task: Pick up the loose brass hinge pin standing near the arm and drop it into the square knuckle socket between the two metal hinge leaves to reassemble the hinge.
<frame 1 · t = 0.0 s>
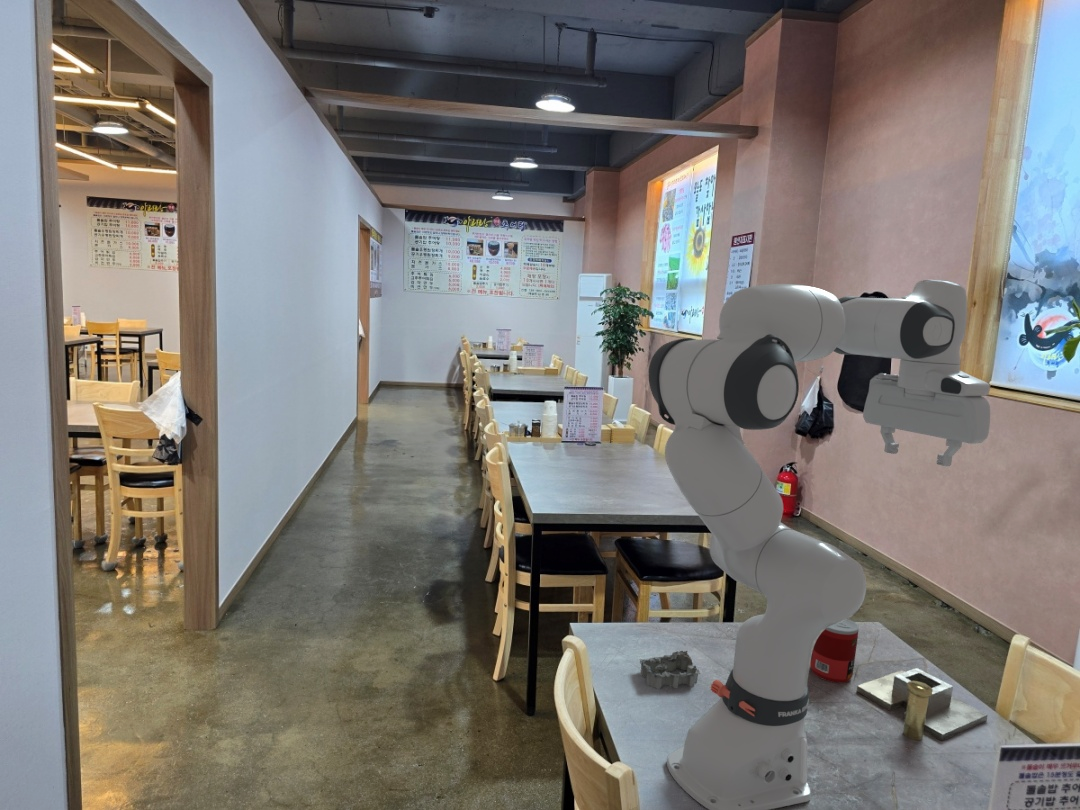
hand: (916, 458, 117), 48 cm above the table, fingers open, 8 cm apart
canned food: (830, 674, 139), on the table
hinge leaves: (919, 705, 129), on the table
egg carton: (668, 680, 133), on the table
hinge pin: (912, 734, 119), on the table
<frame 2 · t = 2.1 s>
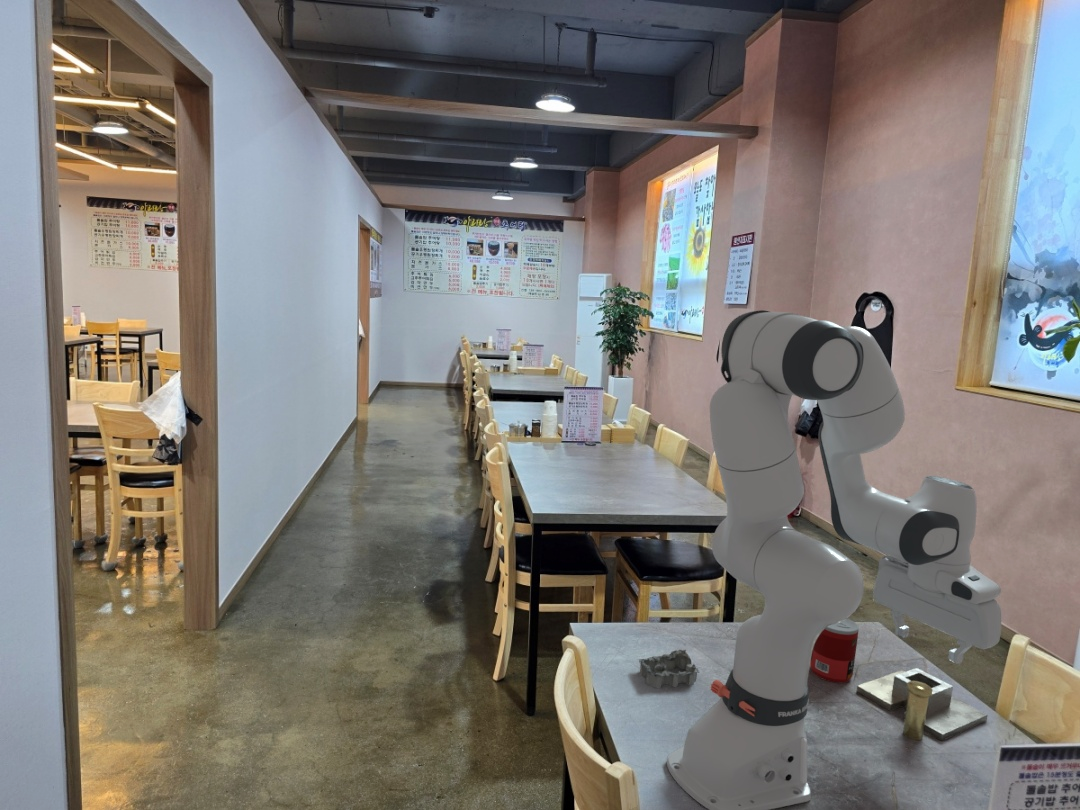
hand: (927, 648, 117), 16 cm above the table, fingers open, 8 cm apart
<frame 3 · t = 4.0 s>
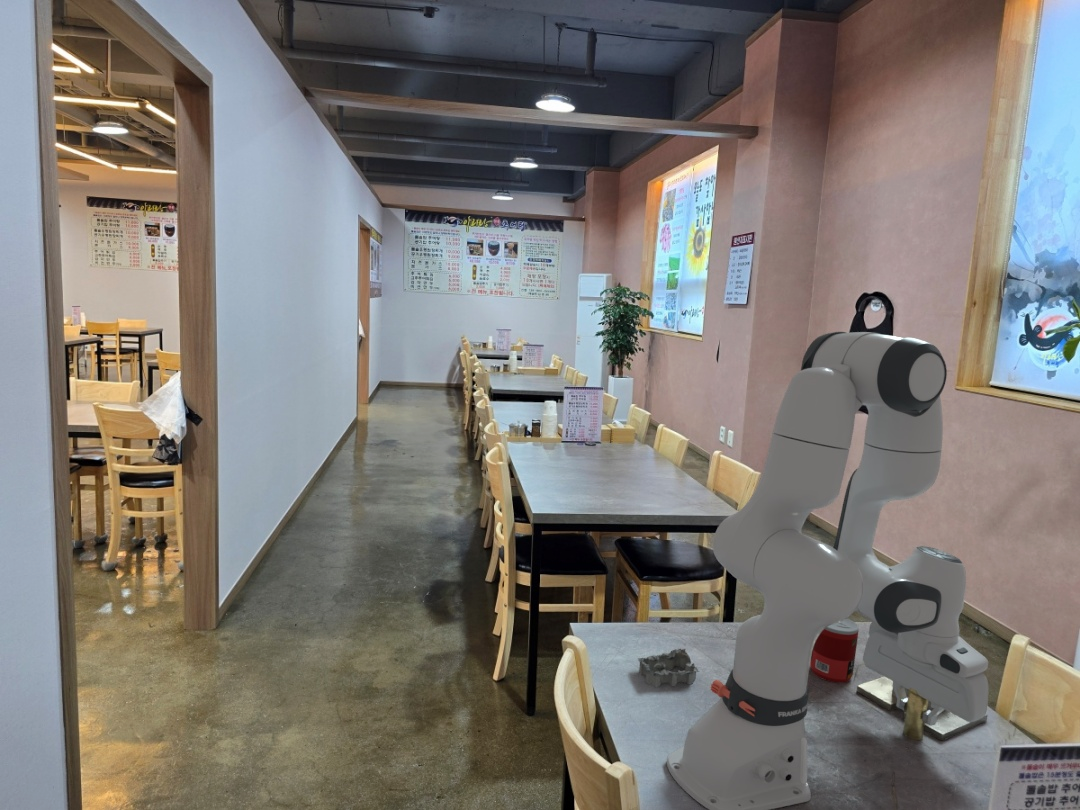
hand: (915, 715, 119), 4 cm above the table, fingers closed on hinge pin, 3 cm apart
hinge pin: (912, 734, 119), on the table, touching gripper
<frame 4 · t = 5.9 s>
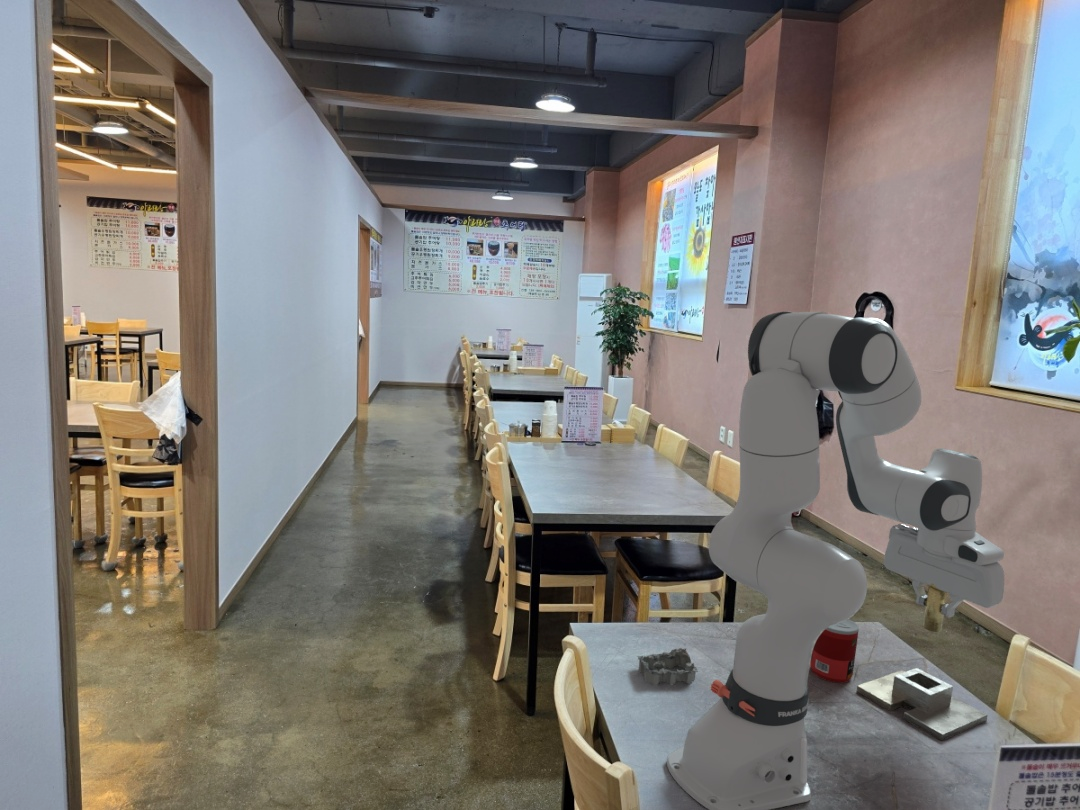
hand: (934, 610, 126), 19 cm above the table, fingers closed on hinge pin, 3 cm apart
hinge pin: (932, 628, 126), point 15 cm above the table, touching gripper
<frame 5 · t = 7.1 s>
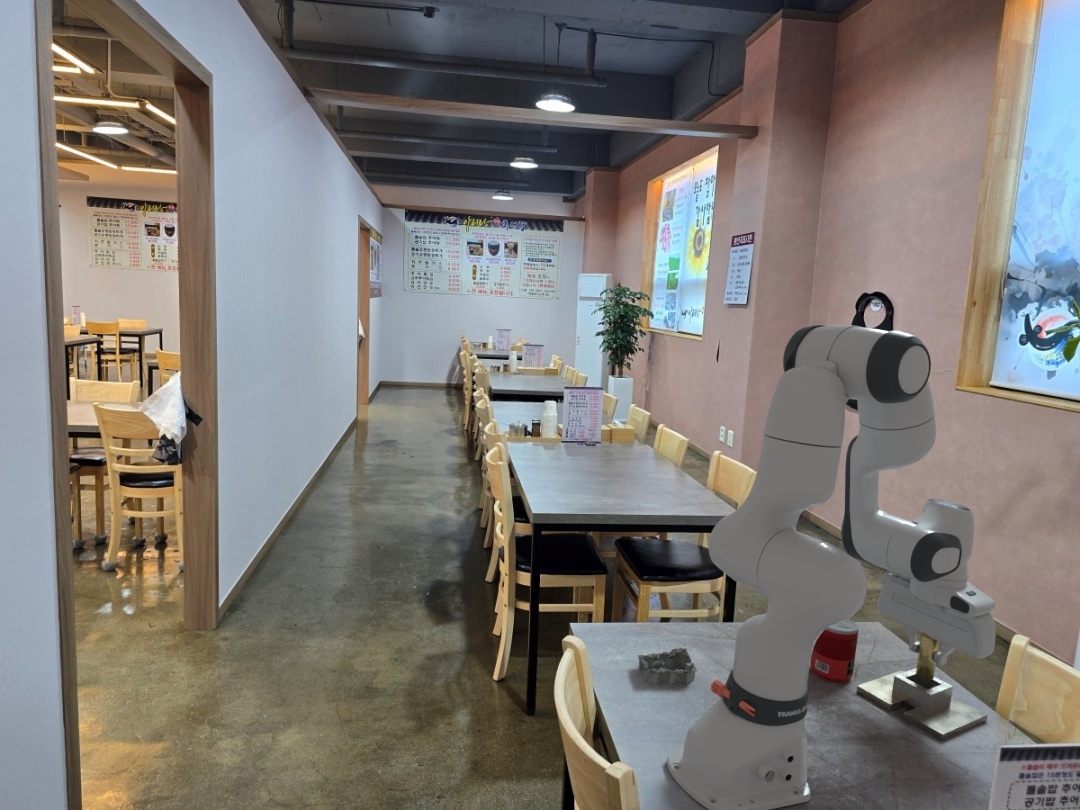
hand: (927, 657, 127), 10 cm above the table, fingers closed on hinge pin, 3 cm apart
hinge pin: (924, 675, 128), point 6 cm above the table, touching gripper
when the fingers open (7 cm above the table, at t = 8.0 s): hinge pin drops 2 cm, resting on hinge leaves.
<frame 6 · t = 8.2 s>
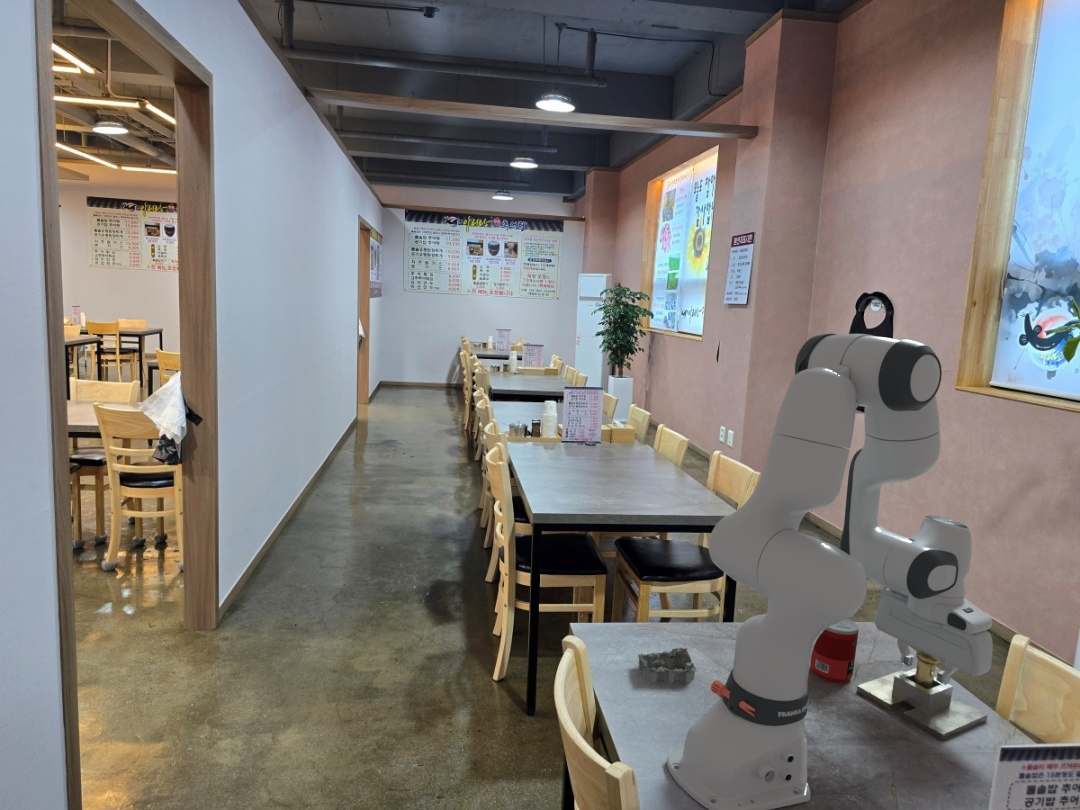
hand: (924, 673, 128), 7 cm above the table, fingers open, 5 cm apart
hinge pin: (920, 699, 129), point 1 cm above the table, touching hinge leaves
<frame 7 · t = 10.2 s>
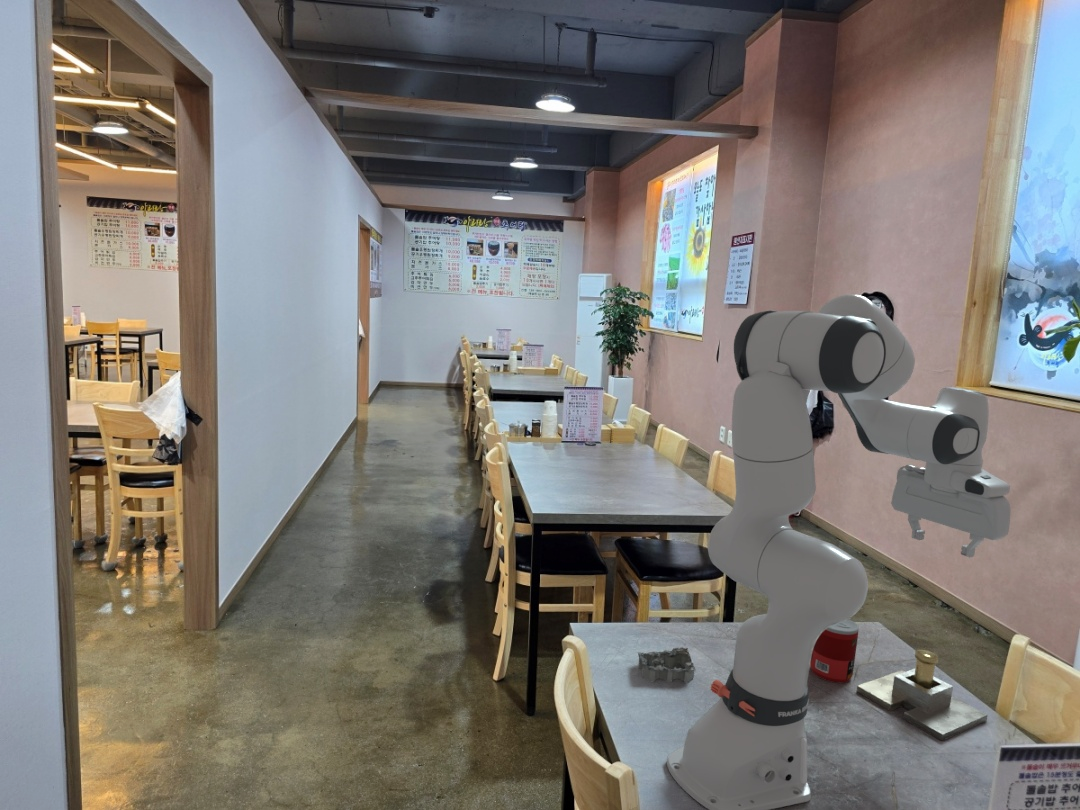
hand: (941, 547, 128), 30 cm above the table, fingers open, 8 cm apart
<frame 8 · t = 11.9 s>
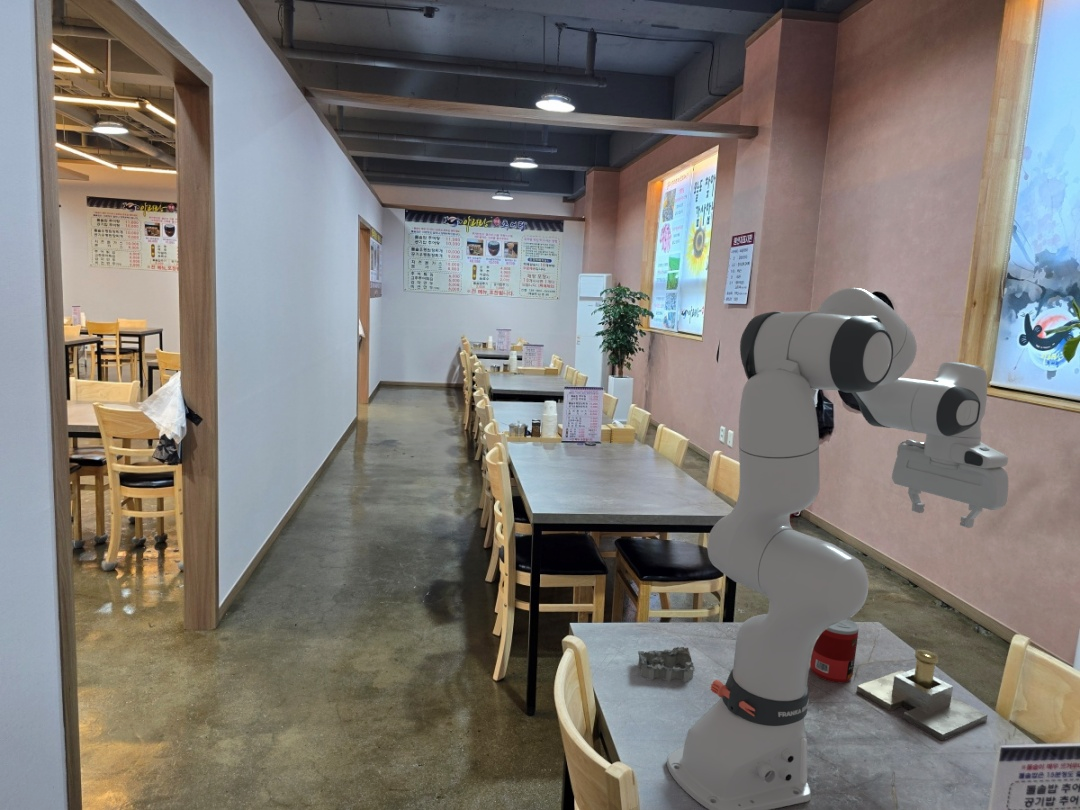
hand: (941, 519, 131), 34 cm above the table, fingers open, 8 cm apart
at the end: hinge pin 0.1 cm off-centre on the hinge leaves, point 1.2 cm above the hinge leaves's base; hinge pin tilted 0°; the gripper is holding nothing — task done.
